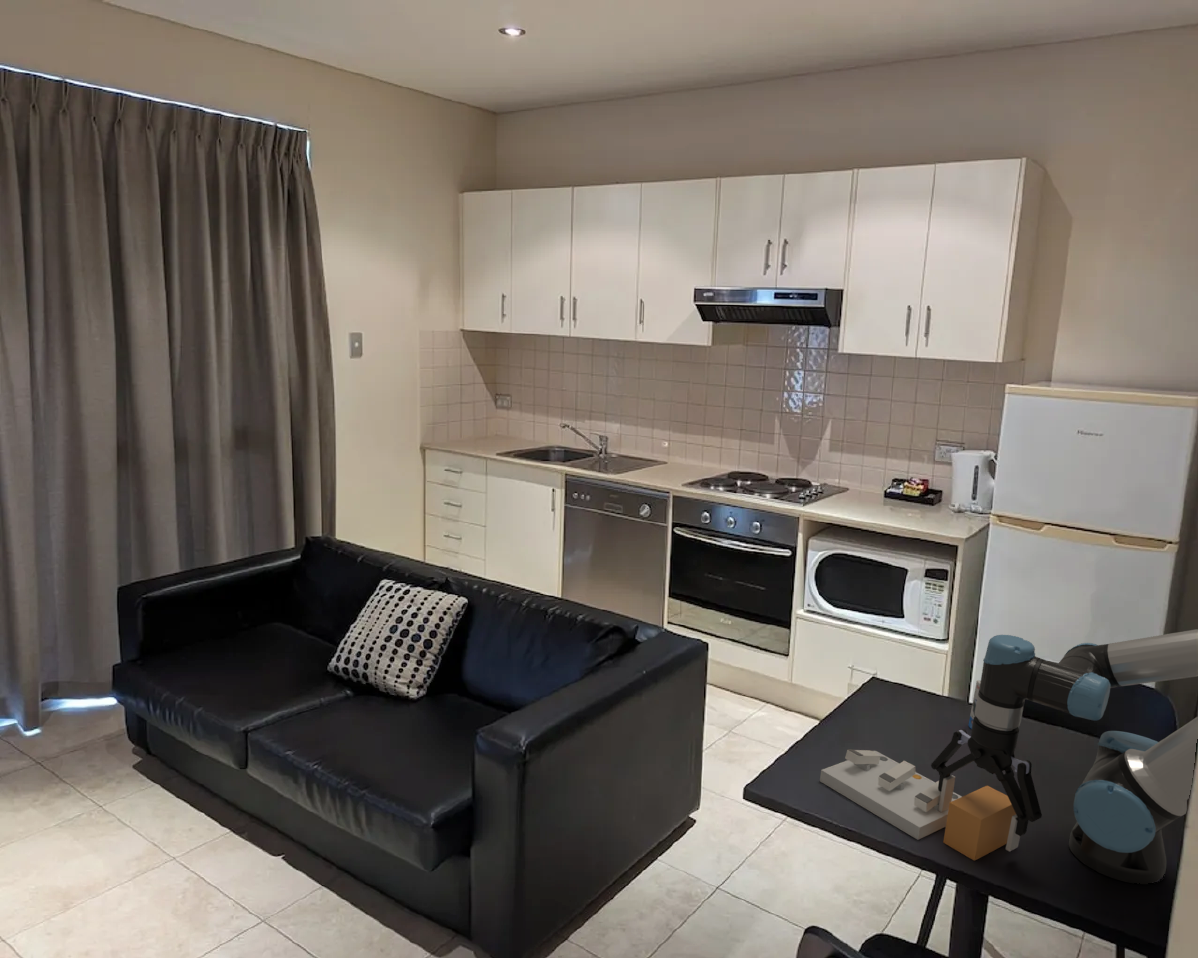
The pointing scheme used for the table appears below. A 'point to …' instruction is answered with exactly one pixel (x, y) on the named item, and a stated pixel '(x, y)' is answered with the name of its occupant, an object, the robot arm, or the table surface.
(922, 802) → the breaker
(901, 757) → the table surface
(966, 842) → the brown block
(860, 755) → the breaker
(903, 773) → the block
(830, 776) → the panel
